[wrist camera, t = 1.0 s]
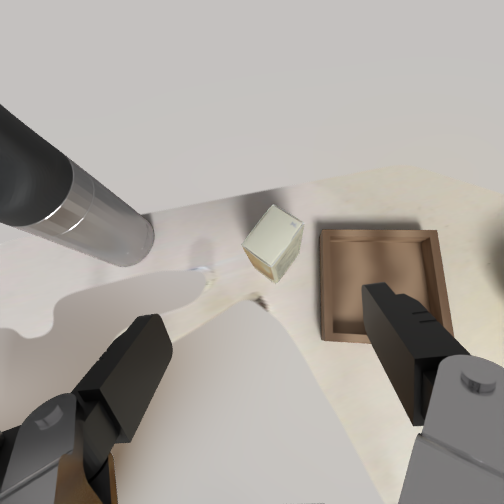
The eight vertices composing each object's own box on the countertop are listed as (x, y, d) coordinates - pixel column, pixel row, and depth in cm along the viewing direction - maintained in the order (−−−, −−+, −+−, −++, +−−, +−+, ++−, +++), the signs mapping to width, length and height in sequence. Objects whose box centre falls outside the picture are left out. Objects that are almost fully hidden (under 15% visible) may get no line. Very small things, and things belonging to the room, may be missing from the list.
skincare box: (277, 237, 40) (274, 200, 28) (300, 252, 39) (307, 220, 27) (252, 269, 39) (238, 244, 27) (275, 286, 38) (271, 267, 26)
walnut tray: (321, 339, 35) (325, 340, 32) (319, 237, 39) (322, 229, 36) (440, 347, 33) (456, 349, 30) (424, 238, 37) (437, 230, 34)
